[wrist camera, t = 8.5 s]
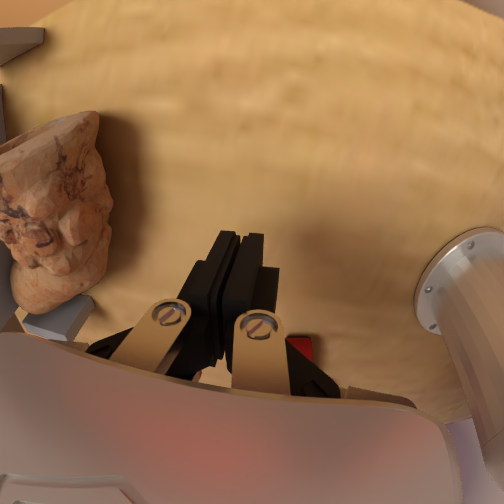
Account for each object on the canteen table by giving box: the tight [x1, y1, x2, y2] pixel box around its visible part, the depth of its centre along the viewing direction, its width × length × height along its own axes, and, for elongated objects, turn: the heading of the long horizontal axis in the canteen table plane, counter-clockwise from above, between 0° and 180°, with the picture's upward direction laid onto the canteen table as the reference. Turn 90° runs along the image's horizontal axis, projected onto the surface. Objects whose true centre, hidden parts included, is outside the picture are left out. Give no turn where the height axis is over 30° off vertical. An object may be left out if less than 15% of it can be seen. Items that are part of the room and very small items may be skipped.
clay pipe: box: [0, 111, 114, 315], centre depth 18 cm, size 19×11×15 cm
